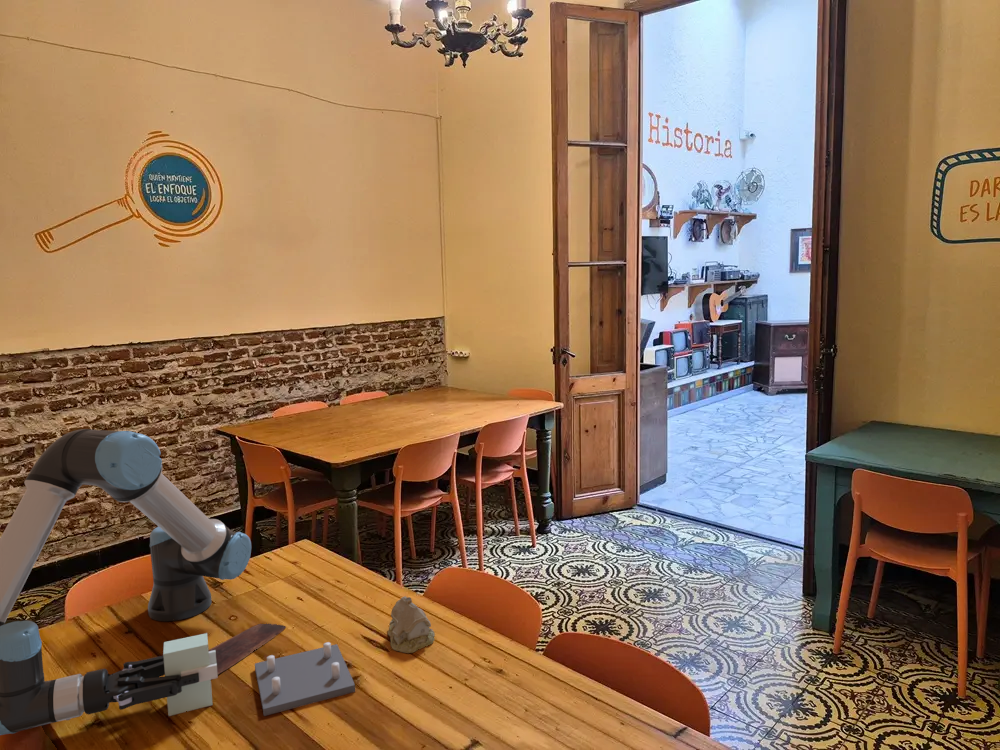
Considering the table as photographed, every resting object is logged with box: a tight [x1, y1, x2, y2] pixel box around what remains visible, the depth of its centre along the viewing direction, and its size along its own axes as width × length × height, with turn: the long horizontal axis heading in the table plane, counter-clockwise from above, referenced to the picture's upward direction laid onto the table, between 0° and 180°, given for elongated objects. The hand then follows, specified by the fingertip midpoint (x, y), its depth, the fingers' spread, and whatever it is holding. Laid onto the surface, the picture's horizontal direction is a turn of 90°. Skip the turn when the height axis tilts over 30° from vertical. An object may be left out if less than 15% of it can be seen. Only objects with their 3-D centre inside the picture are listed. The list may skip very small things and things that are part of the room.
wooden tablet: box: [208, 623, 287, 675], centre depth 156 cm, size 26×2×10 cm
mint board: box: [162, 632, 213, 717], centre depth 135 cm, size 5×8×13 cm, turn 115°
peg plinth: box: [254, 641, 356, 717], centre depth 143 cm, size 18×18×4 cm
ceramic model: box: [387, 595, 436, 654], centre depth 160 cm, size 14×11×10 cm
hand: (216, 663), depth 137 cm, fingers closed on mint board, 5 cm apart
